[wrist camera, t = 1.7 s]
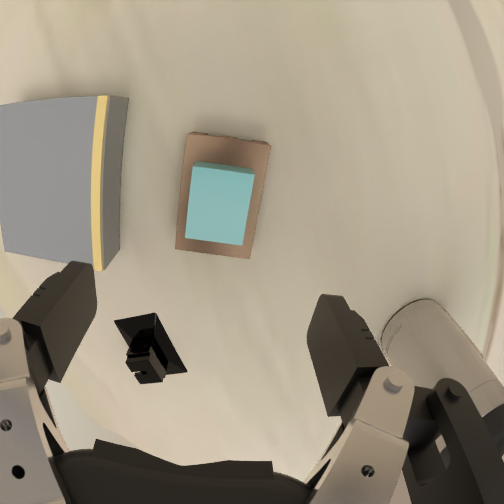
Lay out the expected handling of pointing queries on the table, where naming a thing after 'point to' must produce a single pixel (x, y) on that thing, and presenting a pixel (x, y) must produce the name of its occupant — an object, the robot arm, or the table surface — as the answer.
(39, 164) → the dock
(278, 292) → the table surface
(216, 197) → the teal rectangular block
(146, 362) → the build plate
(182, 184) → the pallet
